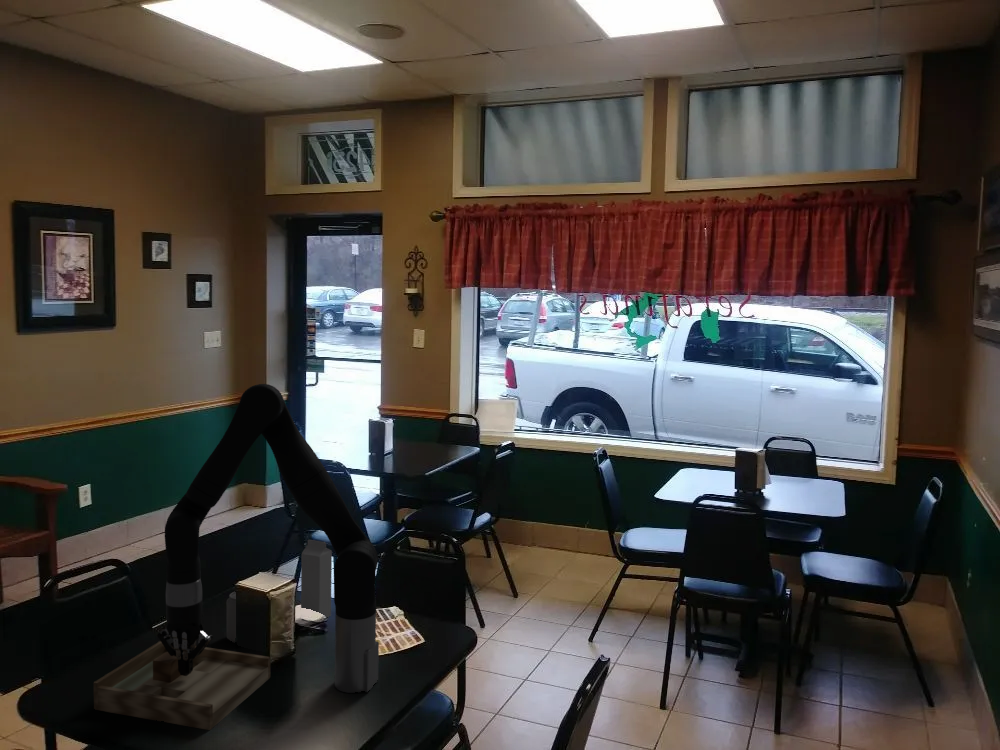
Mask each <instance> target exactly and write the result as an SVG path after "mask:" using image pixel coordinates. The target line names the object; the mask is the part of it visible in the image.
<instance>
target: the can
mask: <svg viewBox="0 0 1000 750" xmlns="http://www.w3.org/2000/svg"><path fill="white" fill-rule="evenodd" d="M228 597H229V598H227V599H226V639H227V640H229V641H230V642H231V641H232V643H235V638H236V592H235V591H233V592H231V593H229V595H228ZM235 644H236V643H235Z"/></svg>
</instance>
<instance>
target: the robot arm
mask: <svg viewBox="0 0 1000 750" xmlns="http://www.w3.org/2000/svg"><path fill="white" fill-rule="evenodd" d="M261 435H262V436H263V438H264V440H265V441H266V442H267V444H268V445H269V447H270V449H271V451H272V454H273V456H274V458H275V462H276V464H277V468H278V469H279V472H280V474H281V477H282V479H283V481H284V483H285V485H286V487H287V489H288V491H289V492H290V494H291V496H292V497H293V498H294V501H295V502H296V504H297V505H298V506H299V508H300V509H301V510H302V511H303V512H304V514H305V515H307V517H309V518H310V520H312V521H313V522H314V523H315V524H316V525H317V526H318V527H320V529H321V530H322V531H323V532H324V534H325V535H326V537H327V539H328V540H329V542H330V544H331V547H332V548H333V550H334V553H335V555H336V559H335V562H334V568H333V602H334V606H335V607H334V608H335V621H334V622H335V625H334V626H335V627H334V629H335V630H334V631H335V632H334V687H335V688H336V689H337V691H340V692H343V693H346V694H347V693H350V694H356V693H355V692H358V693H362V692H361V691H365V692H364V693H369V692H370V691H371V690H372V688H373V687H374V686H375V685H376V684H375V683H377V682H378V681H379V656H380V655H379V650H380V649H379V647H380V643H379V641H377V640H376V638H377V637H376V635H377V634H376V632H377V629H376V628H377V600H376V570H377V568H378V563H379V555H378V552H377V550H376V547H375V546H374V545H373V543H372V542H371V541H370V539H369V538H368V536H367V535H366V534H365V533H364V532H363V530H362V528H361V527H360V526H359V525H358V523H357V522H356V521H355V519H354V517H353V516H352V515H351V512H350V510H349V509H348V507H347V505H346V502H345V501H344V499H343V497H342V496H341V494H340V491H339V489H337V487H336V485H335V483H334V481H333V479H332V478H331V476H330V474H329V473H328V471H327V469H326V467H325V466H324V464H323V463H322V462H321V460H320V459H319V457H318V456H317V454H316V453H315V451H314V450H313V448H312V447H311V446H310V444H309V443H308V442H307V440H306V439H305V437H304V436H303V435H302V433H301V431H299V429H298V427H297V425H296V423H295V421H294V419H293V417H292V415H291V412H290V410H289V408H288V405H287V404H286V401H285V398H284V397H283V395H282V393H281V392H280V390H279V389H277V387H275V386H274V385H270V384H268V383H259V384H255V385H252V386H250V387H248V388H247V389H246V390H245V391H244V392H243V393H242V395H241V396H240V400H239V403H238V405H237V408H236V409H235V412H234V414H233V417H232V419H231V421H230V423H229V425H228V427H227V429H226V431H225V433H224V434H223V436H222V437H221V439H220V441H219V443H218V444H216V447H215V448H214V449H213V451H212V452H211V454H210V455H209V457H208V458H207V459H206V460H205V462H204V463H203V465H202V466H201V468H200V470H199V471H198V473H197V474H196V476H195V477H194V479H193V480H192V482H191V483H190V485H189V487H188V489H187V491H186V493H185V494H184V495H182V497H181V498H180V500H179V501H178V502H177V504H175V506H174V508H173V509H172V510H171V512H170V513H169V515H168V517H167V520H166V523H165V526H164V544H165V545H164V546H165V553H166V569H165V570H166V571H165V572H166V585H165V586H166V587H165V618H166V619H165V621H166V626H165V629H163V630H161V631H159V632H158V633H157V635H156V636H157V638H158V640H159V641H161V642H162V644H163V645H164V647H165V648H166V650H167V651H168V653H169V654H170V655H171V656H173V655H174V656H176V658H177V659H178V671H179V672H180V675H183V676H187V675H189V674H190V673H191V672H192V671H193V659H194V658H195V657H197V656H198V655H199V654H201V653H202V651H203V650H204V649H205V647H207V646H208V645H209V644H210V642H212V640H213V635H212V634H210V633H209V634H207V633H206V632H205V630H204V626H203V623H202V620H203V585H202V580H201V579H202V577H201V576H202V574H201V570H202V569H201V559H200V555H199V553H200V552H199V551H200V550H199V549H200V548H199V547H200V527H201V526H202V524H203V522H204V520H205V519H206V517H207V516H208V514H209V512H210V511H211V510H212V508H214V507H215V506H216V505H217V504H218V502H219V501H220V499H221V498H222V496H223V495H224V494H225V492H226V490H227V489H228V488H229V485H230V484H231V482H233V479H234V477H235V475H236V474H237V472H238V470H239V468H240V466H241V464H242V462H243V460H244V458H246V455H247V454H248V452H249V450H250V449H251V447H252V446H253V445H254V443H255V442H256V441H257V439H258V438H259V437H260V436H261ZM197 640H198V641H197ZM197 643H198V644H197ZM170 644H171V645H172V646H171V645H170ZM195 646H197V647H196V648H195ZM172 647H173V648H174V649H173V648H172ZM377 680H378V681H377ZM374 684H375V685H374ZM373 685H374V686H373ZM369 690H370V691H369ZM368 691H369V692H368Z"/></svg>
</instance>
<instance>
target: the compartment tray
mask: <svg viewBox="0 0 1000 750" xmlns="http://www.w3.org/2000/svg"><path fill="white" fill-rule="evenodd" d="M170 645H171V644H170ZM171 646H172V645H171ZM196 647H197V645H196V646H195V648H196ZM172 648H173V647H172ZM173 649H174V648H173ZM165 652H168V651H167V650H166V648H165V647H164V645H163V644H162V642H161V641H160V640H159V641H158V642H157V643H154V644H153V645H151V646H150V647H148V648H146V649H145V650H143V651H142V652H140V653H138V654H137V655H136V656H134V657H132V658H131V659H129V660H127V661H125V662H124V663H122V664H120V665H119V666H118V667H116V668H114V669H113V670H111V671H110V672H108V673H106V674H104V676H102V677H100V678H99V679H97V680H95V681H93V710H94V709H95V711H101V712H106V713H112V714H118V715H124V716H129V717H135V718H140V719H144V720H145V719H146V720H151V721H156V720H157V722H161V721H164V722H163V723H168V724H173V725H174V724H175V725H178V726H184V727H185V726H186V727H191V728H197V729H201V730H208V731H211V730H212V729H213V728H214V727H215V726H217V725H218V724H219V723H220V722H221V721H222V720H223V719H225V718H226V717H227V716H228V715H229V714H231V712H232V711H234V710H235V709H236V708H237V707H239V705H241V704H242V703H243V702H244V701H245V700H246V699H247V698H249V697H250V696H251V695H252V694H253V693H254V692H255V691H257V690H258V689H259V688H260V687H262V686H263V685H264V684H265V683H266V682H267V681H268V680H269V679H270V678H271V656H266V655H260V654H254V653H248V652H241V651H240V652H239V651H233V650H226V649H221V648H220V649H219V648H212V647H207V646H206V647H205V649H204V650H203V651H202V653H201V654H199V655H198V656H197V657H195V658H194V659H193V671H192V672H191V673H190V674H189V675H187V676H183V675H181V676H179V677H178V678H177V679H175V680H174V681H172V682H171V683H170V682H164V681H157V680H153V660H154V659H156V658H157V657H159V656H160V655H162V654H163V653H165Z"/></svg>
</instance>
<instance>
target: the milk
mask: <svg viewBox="0 0 1000 750" xmlns="http://www.w3.org/2000/svg"><path fill="white" fill-rule="evenodd" d="M332 552H333V551H332V550H331V549H329V548H327V543H326V542H325V541H321V540H314V539H307V545H306V546H305V547H304V549H303V551H302V552H301V555H300V556H301V559H300V561H301V564H300V565H301V567H300V568H301V569H300V570H301V576H300V578H301V580H300V582H301V583H300V609H301V608H306V609H311V610H313V611H316V612H319V613H321V614H323V615H325V616H326V617H328V618H330V617H331V616H332V569H333V568H332V566H333V564H332V561H333V560H332V557H333V556H332V554H333V553H332ZM329 616H330V617H329Z"/></svg>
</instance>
